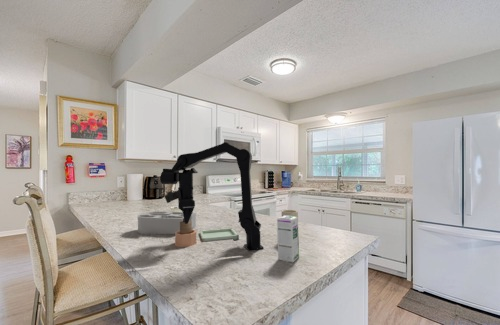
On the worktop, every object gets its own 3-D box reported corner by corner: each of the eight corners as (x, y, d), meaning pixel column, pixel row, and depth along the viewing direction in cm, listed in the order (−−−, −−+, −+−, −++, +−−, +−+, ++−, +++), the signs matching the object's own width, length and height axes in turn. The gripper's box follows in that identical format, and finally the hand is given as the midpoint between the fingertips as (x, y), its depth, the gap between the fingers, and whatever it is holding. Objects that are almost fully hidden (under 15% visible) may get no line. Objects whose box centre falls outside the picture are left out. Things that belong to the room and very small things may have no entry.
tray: (238, 239, 103) (238, 235, 103) (202, 243, 98) (202, 238, 98) (231, 231, 116) (231, 227, 116) (199, 234, 111) (199, 230, 111)
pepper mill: (192, 244, 94) (192, 219, 95) (179, 245, 93) (179, 219, 93) (191, 241, 99) (191, 216, 99) (179, 242, 97) (179, 217, 98)
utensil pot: (197, 247, 93) (197, 233, 93) (174, 249, 90) (174, 235, 90) (195, 241, 101) (195, 228, 102) (174, 243, 99) (174, 230, 99)
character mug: (297, 245, 94) (296, 213, 95) (280, 244, 96) (279, 213, 97) (299, 237, 105) (298, 209, 105) (283, 236, 107) (283, 208, 107)
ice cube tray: (181, 237, 109) (181, 218, 109) (130, 234, 114) (130, 217, 114) (196, 228, 125) (196, 212, 125) (150, 226, 130) (150, 211, 131)
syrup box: (293, 263, 76) (292, 219, 77) (277, 259, 79) (276, 217, 80) (299, 257, 81) (298, 216, 82) (283, 254, 84) (283, 214, 85)
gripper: (166, 183, 103) (166, 218, 103) (164, 186, 85) (164, 228, 85) (192, 183, 107) (192, 216, 106) (194, 185, 89) (195, 225, 88)
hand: (186, 221), depth 96 cm, fingers open, 9 cm apart
